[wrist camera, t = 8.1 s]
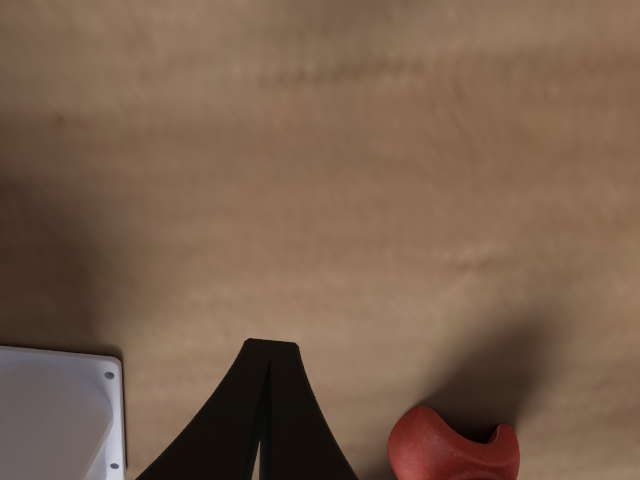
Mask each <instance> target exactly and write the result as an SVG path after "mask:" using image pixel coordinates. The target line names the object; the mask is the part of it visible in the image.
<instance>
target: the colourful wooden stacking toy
mask: <svg viewBox="0 0 640 480" xmlns="http://www.w3.org/2000/svg"><path fill="white" fill-rule="evenodd" d="M387 453H388V457H389V460H390V464H391V466H392V469H393V471H394V473H395V475H396V477H397V478H398V480H516V479H517V475H518V471H519V464H520V453H519V444H518V441H517V437H516V435H515V432H514V430H513V428H512V427H511V425H508V424H500V425H498V427H497V428H496V430H495V431H494V433H493V435H492V436H491V438H490V439H489V441H488V442H487V444H481V443H476V442H473V441H470V440H468V439H466V438H464V437H462V436H461V435H459V434H458V433H456V432H455V431H454V430H452V429H451V428H450V427H449V426H448V425H447V424H446V423H445V422H444V420H443V419H442V418H441V417H440V416H439V414H437V413H436V412H435V411H434V410H433V409H431V408H430V407H426V406H417V407H415V408H413V409H412V410H410V411H409V412H408V413H406V414H405V415H404V416H403V417H402V418H401V419H400V420H399V421H398V422H397V424H396V425H395V426H394V428H393V430H392V431H391V434H390V436H389V439H388V444H387Z"/></svg>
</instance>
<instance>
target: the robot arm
mask: <svg viewBox="0 0 640 480" xmlns="http://www.w3.org/2000/svg"><path fill="white" fill-rule="evenodd" d="M109 372H111V373H113V374H110V373H109ZM259 442H260V465H259V480H359V479H358V477H357V476H356V474H355V473H354V471H353V470H352V468H351V466H350V465H349V463H348V461H347V460H346V458H345V456H344V455H343V453H342V451H341V449H340V448H339V446H338V444H337V442H336V440H335V438H334V437H333V435H332V433H331V431H330V429H329V427H328V425H327V423H326V421H325V419H324V416H323V414H322V412H321V410H320V408H319V405H318V403H317V401H316V398H315V396H314V394H313V391H312V389H311V386H310V384H309V381H308V378H307V375H306V372H305V369H304V366H303V363H302V359H301V355H300V351H299V346H298V345H297V344H296V343H293V342H283V341H273V340H263V339H253V338H249V339H247V340H246V341H244V344H243V346H242V348H241V350H240V352H239V354H238V356H237V358H236V360H235V361H234V363H233V364H232V366H231V368H230V369H229V371H228V372H227V374H226V375H225V377H224V378H223V380H222V381H221V383H220V384H219V385H218V387H217V388H216V390H215V391H214V393H213V394H212V395H211V397H210V398H209V399H208V400H207V402H206V403H205V404H204V405H203V407H202V408H201V409H200V410H199V412H198V413H197V414H196V415H195V417H194V418H193V419H192V420H191V422H190V423H189V424H188V425H187V426H186V427H185V429H184V430H183V431H182V432H181V433H180V434H179V435H178V437H177V438H176V439H175V440H174V441H173V442H172V443H171V444H170V445H169V446H168V447H167V448H166V449H165V451H164V452H163V453H162V454H161V455H160V456H159V457H158V458H157V459H156V460H155V461H154V462H153V463H152V464H151V465H150V466H149V467H148V468H147V469H146V470H145V471H143V472H142V473H141V474H140V475H139V476H138V477H137V478H136V479H135V480H251V479H252V474H253V470H254V465H255V460H256V456H257V451H258V446H259ZM125 474H126V463H125V439H124V415H123V391H122V367H121V362H120V361H119V360H118V359H117V358H115V357H110V356H100V355H90V354H80V353H70V352H59V351H49V350H39V349H29V348H19V347H8V346H0V480H123V479H124V477H125Z"/></svg>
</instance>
